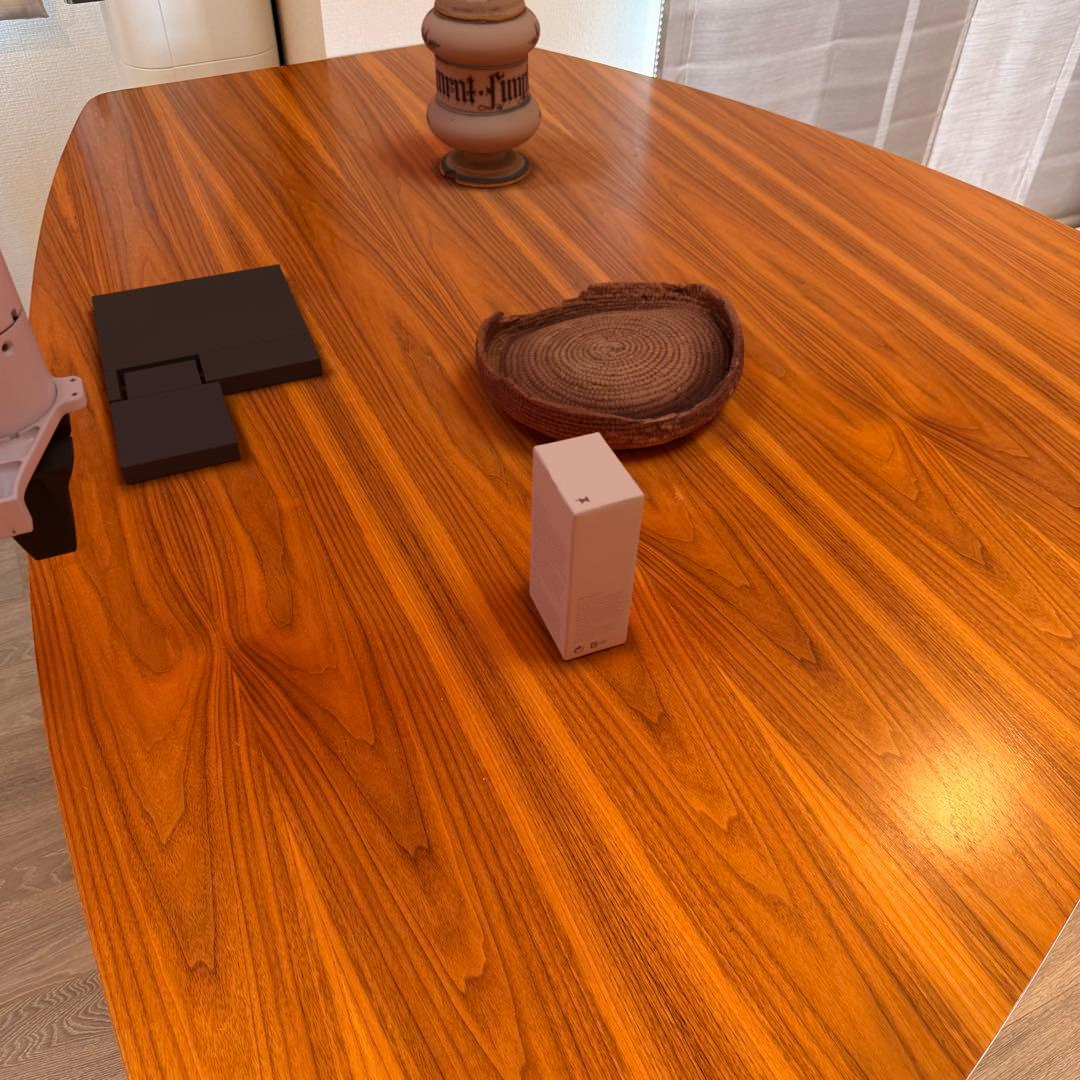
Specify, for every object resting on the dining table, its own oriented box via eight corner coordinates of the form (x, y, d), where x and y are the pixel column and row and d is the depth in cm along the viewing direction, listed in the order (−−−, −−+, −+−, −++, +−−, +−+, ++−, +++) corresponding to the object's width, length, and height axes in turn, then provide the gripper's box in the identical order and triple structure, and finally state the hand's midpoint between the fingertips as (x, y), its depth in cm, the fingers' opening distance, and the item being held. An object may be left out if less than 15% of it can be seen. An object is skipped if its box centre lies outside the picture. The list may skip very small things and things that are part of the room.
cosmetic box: (628, 644, 59) (648, 496, 50) (563, 663, 58) (572, 516, 49) (588, 575, 63) (600, 428, 54) (526, 592, 62) (529, 445, 53)
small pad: (126, 485, 68) (119, 467, 67) (111, 393, 76) (105, 376, 75) (241, 459, 70) (237, 441, 69) (216, 372, 78) (211, 355, 77)
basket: (615, 285, 89) (619, 234, 86) (797, 379, 79) (810, 326, 76) (425, 382, 78) (421, 328, 74) (609, 506, 68) (615, 451, 64)
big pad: (114, 418, 74) (108, 401, 72) (96, 312, 84) (91, 296, 83) (323, 374, 78) (320, 358, 77) (282, 279, 89) (279, 263, 87)
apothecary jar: (406, 168, 106) (392, -16, 93) (484, 136, 112) (480, -40, 100) (485, 203, 100) (481, 13, 88) (562, 168, 107) (569, -15, 94)
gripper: (60, 394, 37) (152, 625, 47) (43, 227, 47) (122, 447, 56) (-146, 435, 35) (-7, 667, 45) (-121, 252, 45) (-10, 475, 54)
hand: (55, 547), depth 50 cm, fingers closed
